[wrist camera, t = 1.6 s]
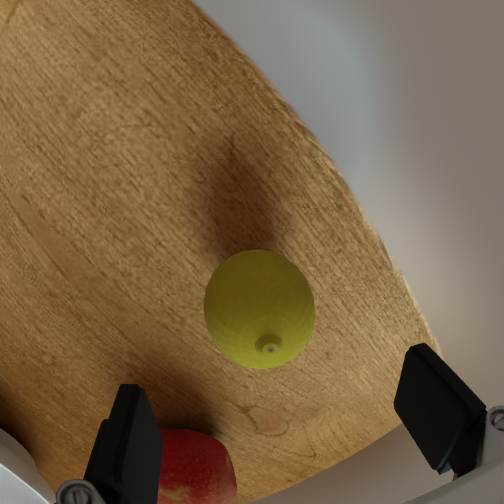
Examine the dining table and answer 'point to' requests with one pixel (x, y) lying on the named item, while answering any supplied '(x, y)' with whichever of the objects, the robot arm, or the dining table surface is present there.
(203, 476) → the apple
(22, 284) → the dining table surface
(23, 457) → the bowl
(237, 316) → the lemon
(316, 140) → the dining table surface
